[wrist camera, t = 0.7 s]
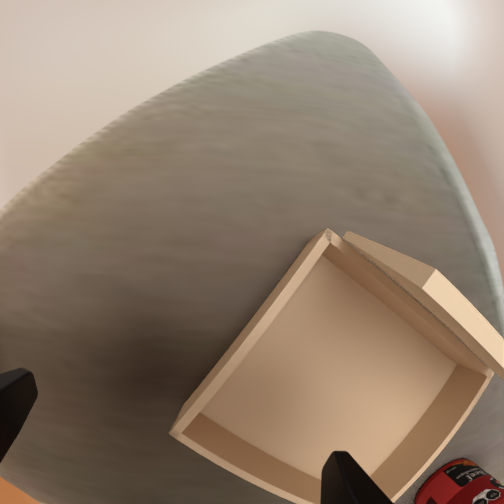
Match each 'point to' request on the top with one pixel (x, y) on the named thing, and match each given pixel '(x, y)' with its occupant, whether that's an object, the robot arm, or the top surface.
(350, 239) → the carton flap
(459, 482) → the canned food
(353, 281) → the carton
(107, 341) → the top surface
